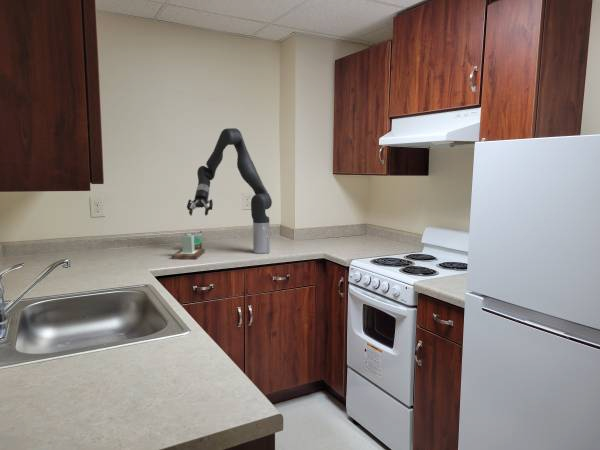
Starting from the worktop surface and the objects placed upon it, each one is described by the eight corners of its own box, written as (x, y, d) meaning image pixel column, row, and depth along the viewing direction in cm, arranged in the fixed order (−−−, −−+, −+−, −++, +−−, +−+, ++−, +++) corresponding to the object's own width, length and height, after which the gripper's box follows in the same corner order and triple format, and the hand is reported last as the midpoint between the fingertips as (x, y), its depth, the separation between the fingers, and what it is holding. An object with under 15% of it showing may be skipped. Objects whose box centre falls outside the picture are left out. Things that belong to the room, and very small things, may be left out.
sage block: (194, 251, 248) (194, 233, 247) (191, 252, 243) (191, 235, 242) (185, 251, 248) (185, 233, 247) (182, 252, 243) (182, 234, 242)
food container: (191, 251, 257) (191, 234, 256) (184, 250, 261) (184, 233, 259) (208, 248, 267) (207, 231, 265) (201, 247, 270) (200, 230, 269)
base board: (204, 252, 254) (204, 248, 254) (196, 259, 237) (196, 255, 236) (181, 252, 255) (181, 248, 255) (171, 259, 237) (171, 255, 237)
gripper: (188, 189, 262) (184, 210, 252) (213, 188, 262) (209, 210, 252) (191, 197, 268) (187, 218, 258) (215, 197, 268) (211, 218, 258)
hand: (198, 214), depth 255 cm, fingers open, 8 cm apart
